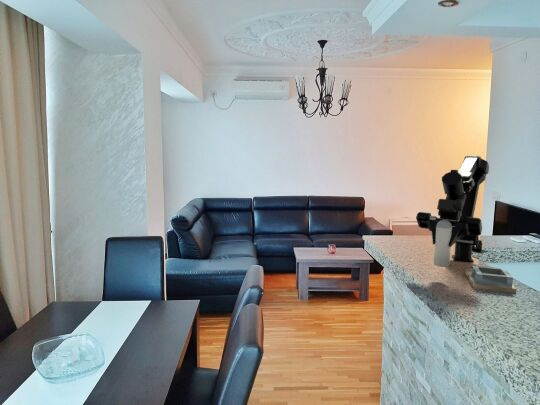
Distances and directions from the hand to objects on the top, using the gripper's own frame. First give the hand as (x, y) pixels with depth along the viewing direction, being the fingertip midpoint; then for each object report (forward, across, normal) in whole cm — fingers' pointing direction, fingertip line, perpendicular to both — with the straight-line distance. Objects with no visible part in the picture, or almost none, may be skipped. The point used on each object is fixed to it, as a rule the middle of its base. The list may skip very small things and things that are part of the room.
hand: (441, 244), depth 121 cm
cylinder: (+4, 0, +6) cm, 7 cm away
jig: (+2, +12, +14) cm, 19 cm away
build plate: (-27, 0, +45) cm, 53 cm away
